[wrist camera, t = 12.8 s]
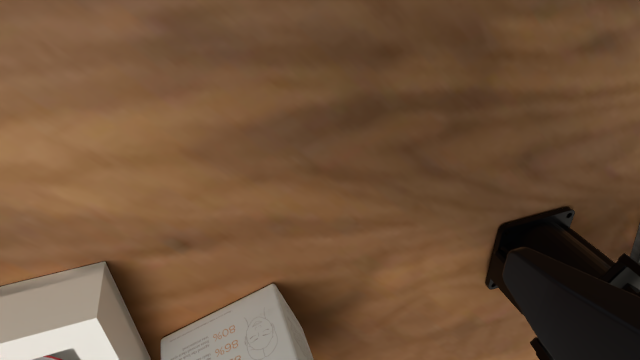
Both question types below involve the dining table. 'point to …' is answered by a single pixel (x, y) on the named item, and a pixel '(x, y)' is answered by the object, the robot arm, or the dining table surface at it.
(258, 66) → the dining table surface
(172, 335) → the small box
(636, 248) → the phone
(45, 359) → the soda can
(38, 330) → the shallow white square tray
